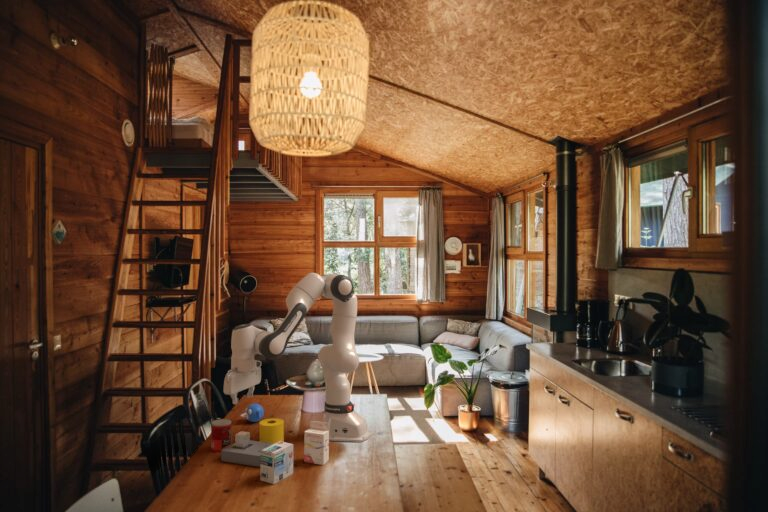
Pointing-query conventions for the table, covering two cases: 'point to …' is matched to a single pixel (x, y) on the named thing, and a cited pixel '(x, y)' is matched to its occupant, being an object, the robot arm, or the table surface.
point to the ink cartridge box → (316, 443)
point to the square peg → (242, 440)
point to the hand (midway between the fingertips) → (242, 400)
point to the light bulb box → (276, 462)
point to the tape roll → (272, 430)
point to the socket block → (245, 453)
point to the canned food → (220, 434)
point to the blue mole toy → (253, 413)
